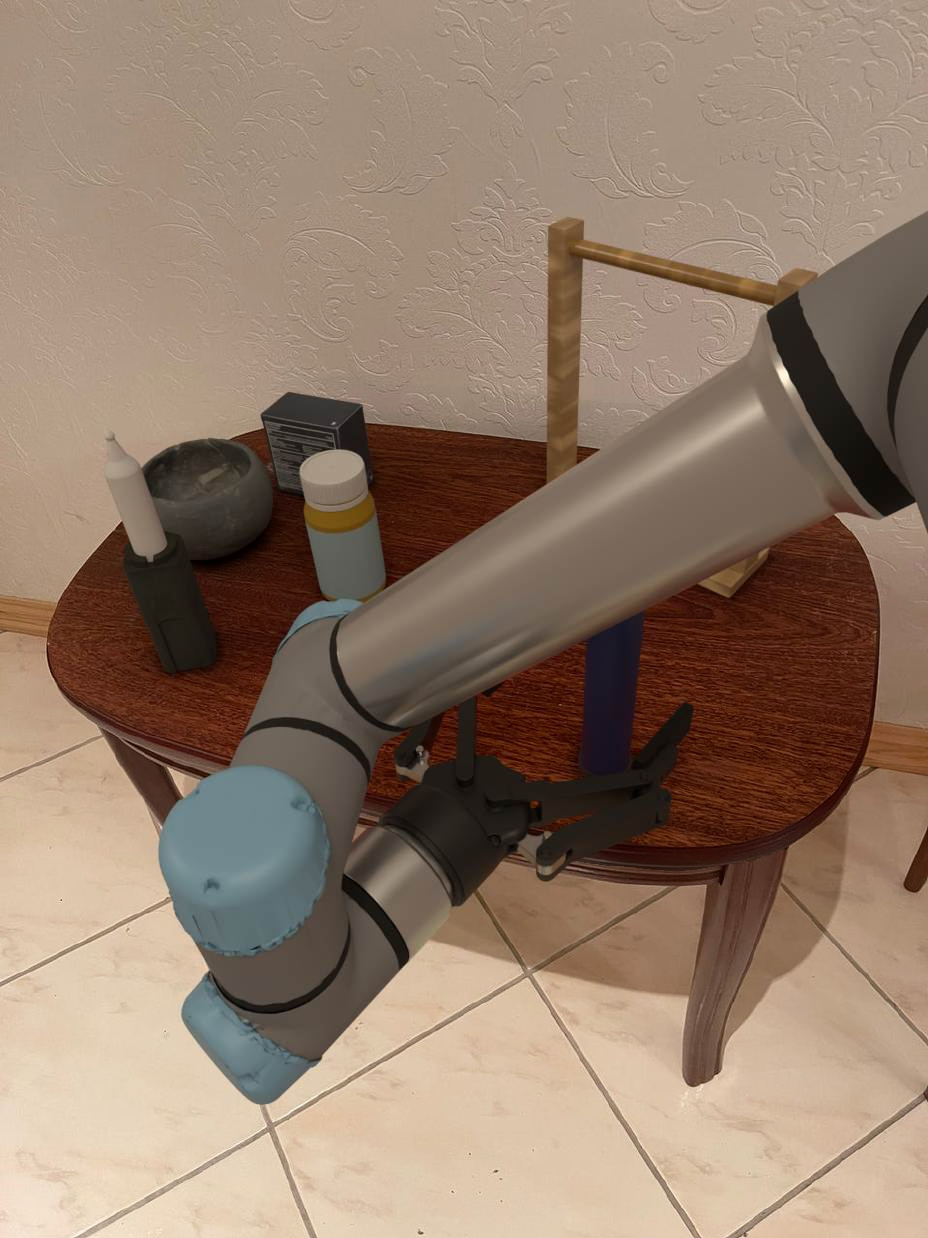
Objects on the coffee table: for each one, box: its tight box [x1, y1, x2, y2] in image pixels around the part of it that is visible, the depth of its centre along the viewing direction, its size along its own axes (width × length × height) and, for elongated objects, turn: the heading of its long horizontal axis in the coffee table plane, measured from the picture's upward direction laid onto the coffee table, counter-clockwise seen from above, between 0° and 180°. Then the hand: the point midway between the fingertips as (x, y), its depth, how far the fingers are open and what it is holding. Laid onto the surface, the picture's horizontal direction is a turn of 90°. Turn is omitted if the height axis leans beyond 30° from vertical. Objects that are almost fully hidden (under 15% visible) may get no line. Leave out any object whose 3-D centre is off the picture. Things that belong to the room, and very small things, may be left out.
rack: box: [546, 216, 819, 599], centre depth 87 cm, size 25×8×31 cm, turn 48°
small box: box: [259, 391, 374, 497], centre depth 105 cm, size 11×6×10 cm, turn 66°
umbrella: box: [577, 610, 646, 778], centre depth 67 cm, size 10×4×26 cm, turn 138°
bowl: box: [141, 437, 274, 561], centre depth 98 cm, size 15×15×10 cm
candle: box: [103, 430, 217, 675], centre depth 79 cm, size 5×5×25 cm
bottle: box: [299, 450, 387, 603], centre depth 89 cm, size 7×7×15 cm
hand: (608, 673), depth 67 cm, fingers open, 13 cm apart
